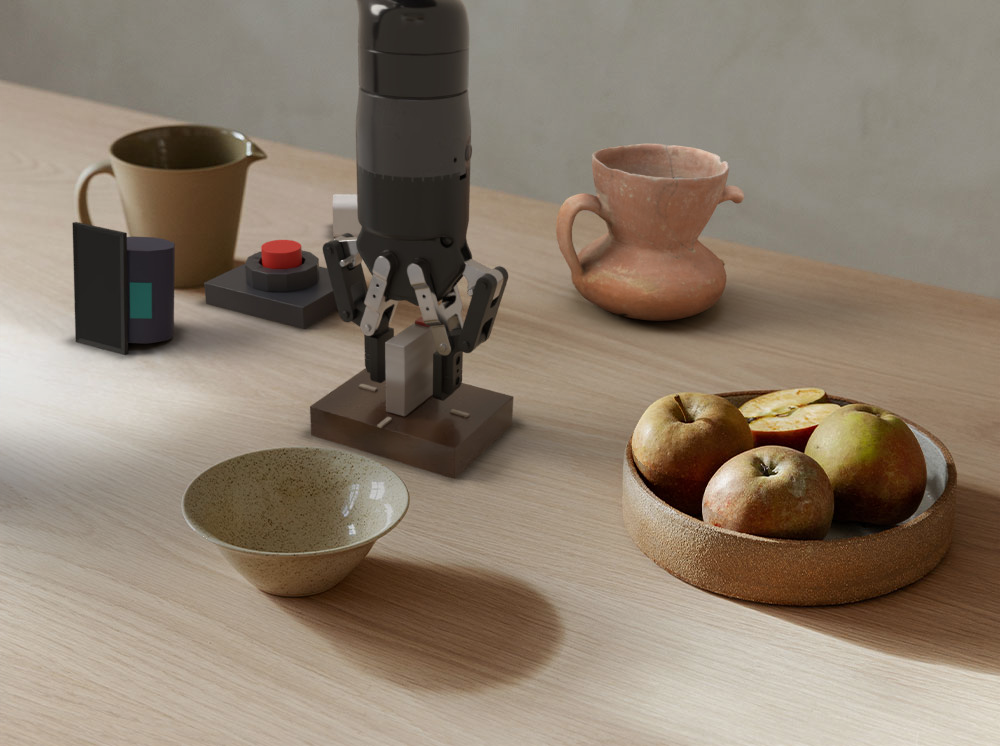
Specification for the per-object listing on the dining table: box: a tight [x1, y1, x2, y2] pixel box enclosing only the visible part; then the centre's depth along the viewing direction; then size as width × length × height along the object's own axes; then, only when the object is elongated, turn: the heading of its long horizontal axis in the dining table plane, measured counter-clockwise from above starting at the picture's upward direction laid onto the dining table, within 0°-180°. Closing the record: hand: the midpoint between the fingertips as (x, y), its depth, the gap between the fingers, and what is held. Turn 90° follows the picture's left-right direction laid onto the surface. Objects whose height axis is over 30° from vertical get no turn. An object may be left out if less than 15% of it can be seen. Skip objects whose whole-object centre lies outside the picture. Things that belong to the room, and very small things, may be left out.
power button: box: [260, 239, 303, 269], centre depth 101 cm, size 4×4×2 cm
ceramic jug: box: [555, 143, 745, 322], centre depth 102 cm, size 18×14×14 cm
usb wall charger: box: [332, 193, 362, 239], centre depth 120 cm, size 4×7×4 cm, turn 96°
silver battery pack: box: [385, 315, 437, 416], centre depth 79 cm, size 5×2×6 cm, turn 153°
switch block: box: [203, 249, 338, 330], centre depth 102 cm, size 11×9×4 cm
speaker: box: [72, 221, 176, 356], centre depth 92 cm, size 8×6×10 cm
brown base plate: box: [309, 367, 514, 480], centre depth 81 cm, size 12×9×3 cm
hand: (413, 385), depth 80 cm, fingers open, 4 cm apart
